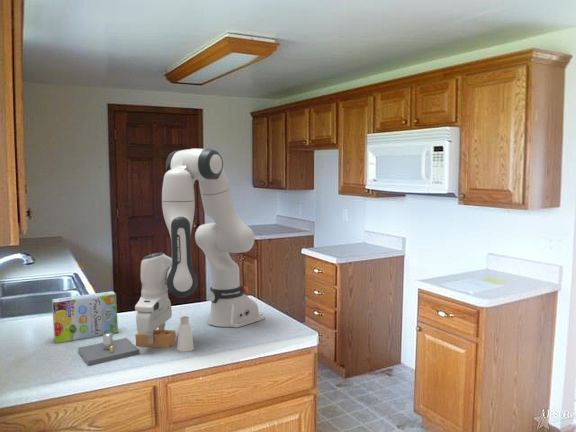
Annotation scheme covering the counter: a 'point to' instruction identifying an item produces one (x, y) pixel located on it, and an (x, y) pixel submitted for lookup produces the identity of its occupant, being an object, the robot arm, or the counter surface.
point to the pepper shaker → (185, 335)
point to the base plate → (107, 351)
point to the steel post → (107, 340)
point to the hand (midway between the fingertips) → (156, 339)
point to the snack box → (84, 316)
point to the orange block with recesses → (157, 339)
